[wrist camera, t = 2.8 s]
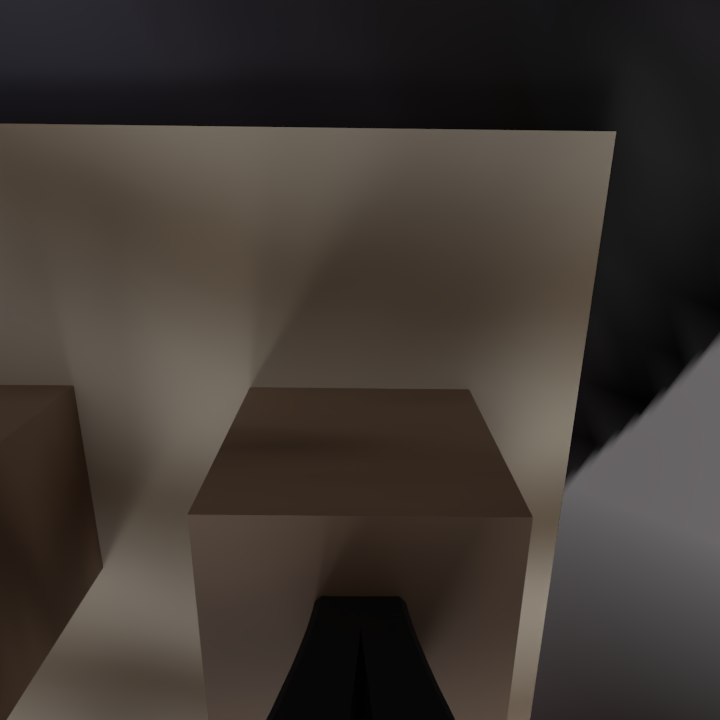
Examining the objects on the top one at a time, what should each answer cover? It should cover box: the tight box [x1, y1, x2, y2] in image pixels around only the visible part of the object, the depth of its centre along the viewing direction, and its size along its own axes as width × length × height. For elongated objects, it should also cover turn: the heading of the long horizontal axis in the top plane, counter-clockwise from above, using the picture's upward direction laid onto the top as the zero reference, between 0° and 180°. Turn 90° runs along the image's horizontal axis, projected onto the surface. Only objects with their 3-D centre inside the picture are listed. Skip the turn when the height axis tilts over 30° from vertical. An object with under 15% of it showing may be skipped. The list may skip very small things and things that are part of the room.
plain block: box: [187, 387, 533, 720], centre depth 11 cm, size 5×5×5 cm
